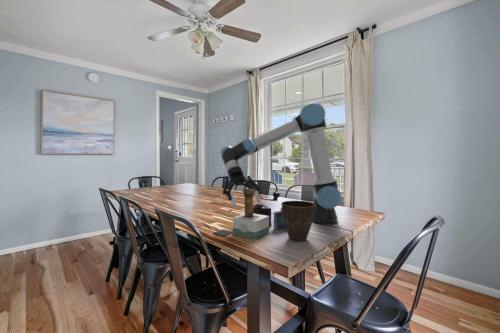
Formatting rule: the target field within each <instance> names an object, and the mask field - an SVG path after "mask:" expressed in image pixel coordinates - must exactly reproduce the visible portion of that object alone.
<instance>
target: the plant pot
mask: <svg viewBox="0 0 500 333" xmlns="http://www.w3.org/2000/svg"><path fill="white" fill-rule="evenodd" d="M280 204H281V208H282V212H283V217H284V222H285V226H286V229H285V230H286V233H287V236H288V238H289V240H291V241H292V242H293V241H294V242H305V241H306V240H307V238H308V236H309V234H310V231H311V227H312V224H313V216H314V211H315V204H314V203H313V202H310V201H305V200H288V201H287V200H286V201H282V202H281V203H280Z"/></svg>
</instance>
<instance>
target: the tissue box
mask: <svg viewBox="0 0 500 333" xmlns="http://www.w3.org/2000/svg"><path fill="white" fill-rule="evenodd" d="M232 231H233V233H232V234H233V235H236V236H240V237H244V238H249V239H253V240H257V239H260V238H261V237H263V236H264V235H266V234H268V233H270V226H269V216H266V215H260V214H253V217H252V218H246V217H245V213H242V214H239V215H236V216H234V217H232Z"/></svg>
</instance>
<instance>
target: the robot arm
mask: <svg viewBox="0 0 500 333" xmlns="http://www.w3.org/2000/svg"><path fill="white" fill-rule="evenodd" d="M325 118H326V110H325V108H324V106H322V105H321V104H320V103H318V102H315V101H314V102H313V101H312V102H309V103H306V104H305V105H304V106H303V107H302V109H301V110H300V113H299V114H298V115H296V116H294V117H293V118H292V120H289V121H288V122H286V123H284V124H282V125H280V126H278V127H276V128H274V129H272V130H269V131H268V132H265V133H263V134H261V135H259V136H257V137H255V138H253V139H252V138H251V137H247V138H245V139H243V140H242V141H241V142H239V143H237V144H236V145H235V146H231V145H229V146H224V147H223V148H222V149H221V151H220V155H221V158H222V161H223V163H224V166H225V169H226V172H227V175H228V176H225V178H224V186H223V188H222V194H221V195H225V196H226V197H227V200H228V201H230V203H231V206H232V208H235V206H236V203H237V202H236V201H235V197H234V194H233V192H231V191H232V190H233V189H234V187H235V186H236V187H239V186H243V187H246V189H254V195H253V197H255V200H256V202H257V203H256V204H260V203H261V202H262V199H260V197H261V193H260V190H262V188H261V187H260V186H259V184H258V183H256V181H254V180H253V179H252V178H251V175H247V176H244V173H243V172H244V171H243V169H242V166H241V165H240V162H239V160H240V159H242V158H244V157H246V156H252V155H254V154H255V153H257V152H259V151H261V150H264V149H265V148H268V147H269V146H271V145H274V144H276V143H278V142H279V141H282V140H284V139H286V138H288V137H291V136H293V135H295V134H297V133H304V134H305V135H306V136H307V142H308V147H309V152H310V157H311V164H312V169H313V173H314V174H313V175H314V178H315V180H314V181H313V183H312V184H313V185H312V187H313V190H312V191H313V193H312V197H313V199H312V200H313V201H312V203H314V204H315V211H314V216H313V221H312V223H313V222H314V223H316V224H323V225H331V224H336V223H338V215H337V212H336V209H335V208H336V207H337V206H339V205H340V203H341V200H342V196H341V195H342V194H341V192H340V190H339V186H338V182H337V179H336V178H335V177H333V172H332V166H331V162H330V156H329V155H330V154H329V150H328V146H327V140H326V136H325V130H326V129H327V123H326V119H325ZM229 182H231V184H230V186H229V188H228V184H229ZM227 189H228V190H227Z"/></svg>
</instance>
